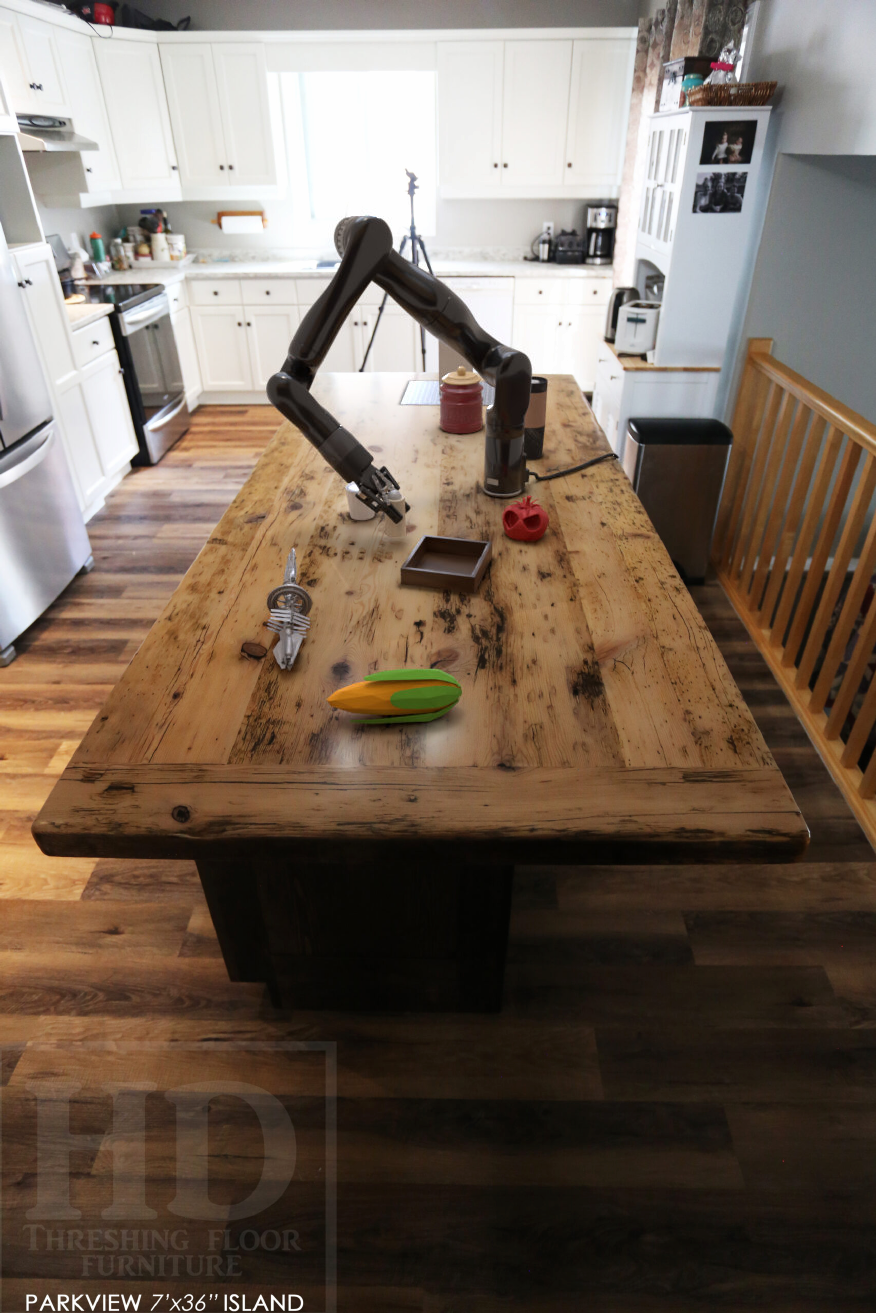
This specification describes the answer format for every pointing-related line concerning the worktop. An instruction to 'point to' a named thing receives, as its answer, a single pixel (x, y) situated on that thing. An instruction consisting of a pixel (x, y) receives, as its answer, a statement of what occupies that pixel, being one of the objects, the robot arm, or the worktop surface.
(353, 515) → the beige white cylinder
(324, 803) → the worktop surface
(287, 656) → the spaceship
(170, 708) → the worktop surface
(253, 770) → the worktop surface
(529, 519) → the pomegranate
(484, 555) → the tray
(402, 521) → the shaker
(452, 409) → the kitchen canister
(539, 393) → the travel mug
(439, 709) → the corn
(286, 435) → the worktop surface
